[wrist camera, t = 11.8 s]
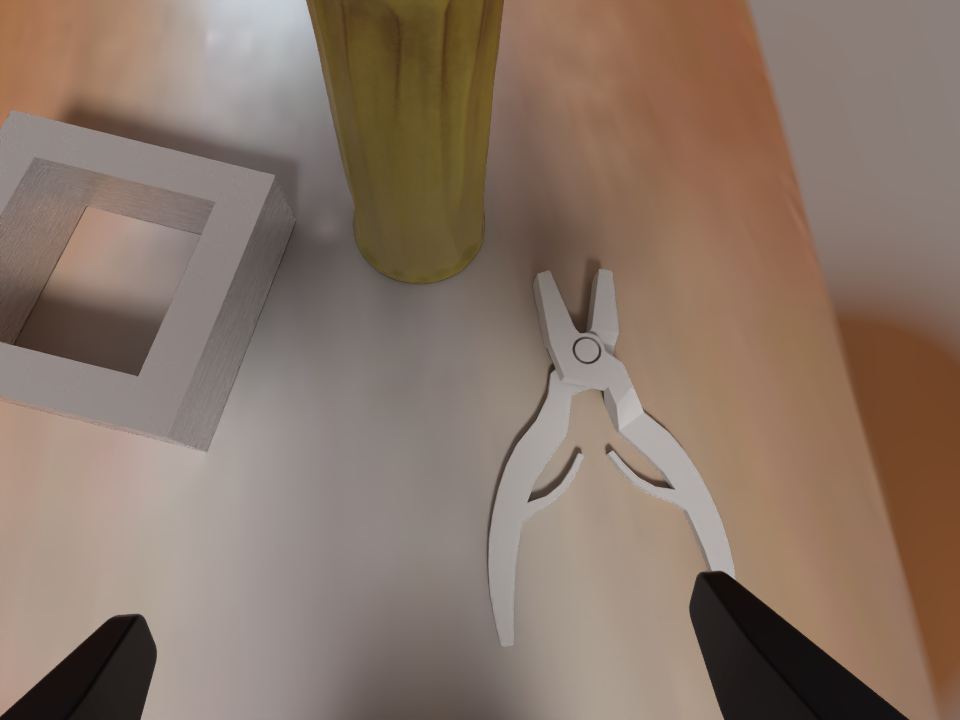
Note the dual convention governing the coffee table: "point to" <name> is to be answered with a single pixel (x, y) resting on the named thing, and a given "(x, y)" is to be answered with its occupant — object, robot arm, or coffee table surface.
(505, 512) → the pliers
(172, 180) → the socket block
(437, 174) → the vase
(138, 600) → the coffee table surface
